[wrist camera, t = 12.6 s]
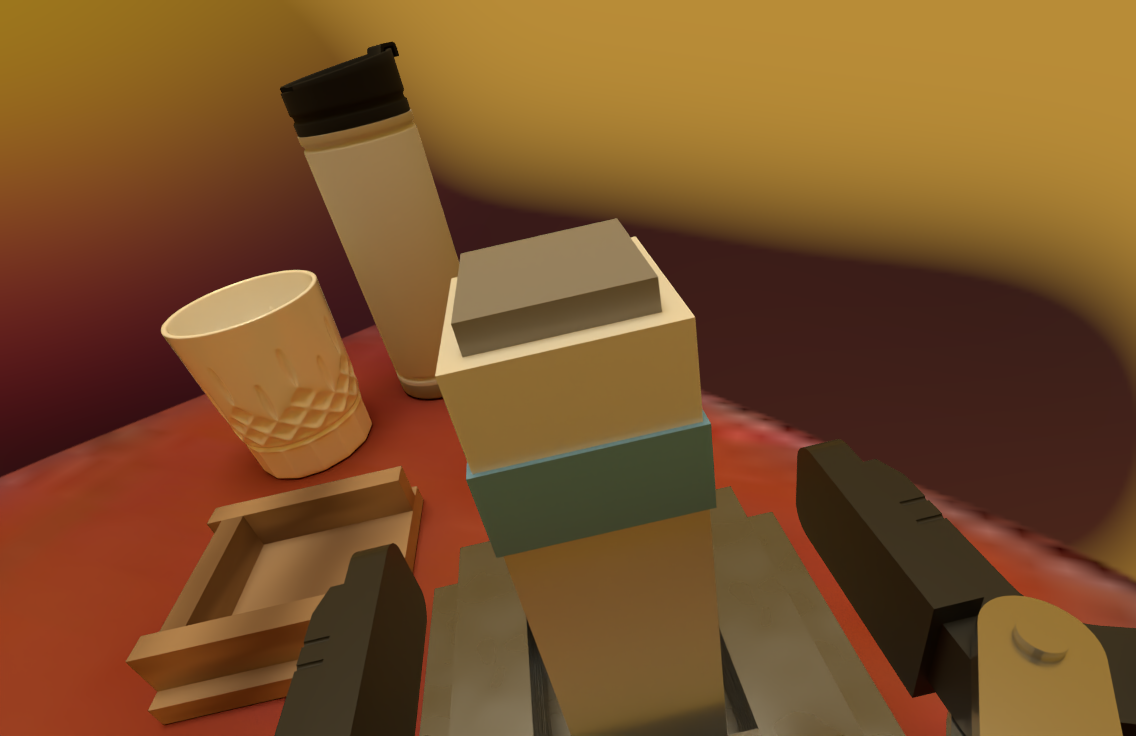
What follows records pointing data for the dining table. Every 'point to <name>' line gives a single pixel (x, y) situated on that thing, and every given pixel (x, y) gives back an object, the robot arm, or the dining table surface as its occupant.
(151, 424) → the dining table surface
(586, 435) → the plug
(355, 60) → the travel mug
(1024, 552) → the dining table surface
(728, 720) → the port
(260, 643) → the wooden square tray
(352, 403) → the white cup
